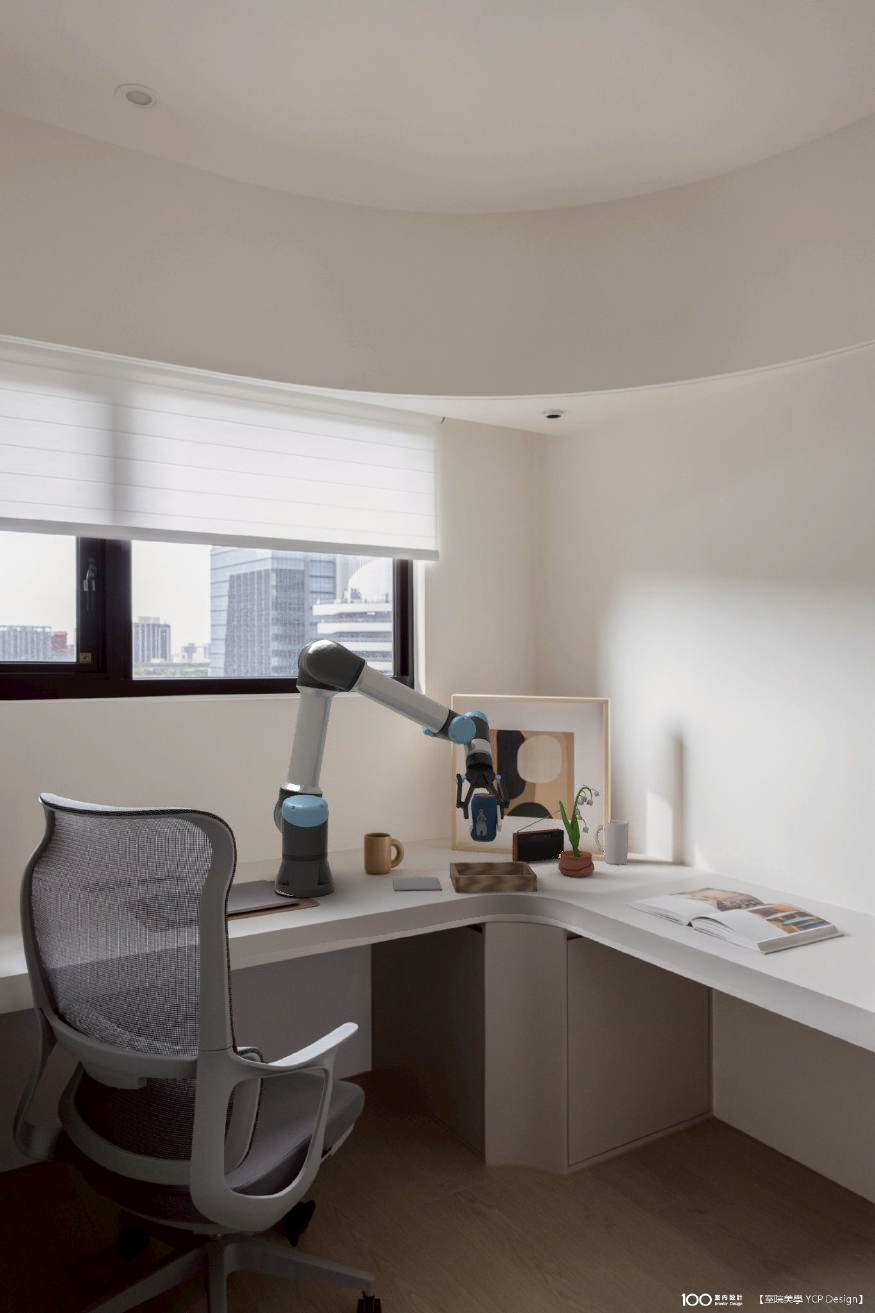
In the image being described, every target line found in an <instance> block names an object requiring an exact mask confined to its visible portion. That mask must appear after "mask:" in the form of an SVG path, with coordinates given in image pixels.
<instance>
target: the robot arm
mask: <svg viewBox="0 0 875 1313" xmlns="http://www.w3.org/2000/svg"><path fill="white" fill-rule="evenodd" d="M296 663H297V669H298V672H297V680H296V686H295V687H296V688H297V690H298V692H299V693H300V696H299V703H298V708H297V715H296V723H295V727H294V734H293V739H292V740H293V741H292V746H291V754H290V758H289V765H288V772H287V779H286V780H285V781H284V783H282V784H280V786H279V793H278V798H277V802H276V803H275V806H274V808H273V821H274V824H275V826H276V828H277V830H278V831H279V832H280V833H281V862H280V866H279V869H278V870H277V874H276V876H275V877H276V878H275V880H274V889H275V888H276V889H277V890H279V891H281V892H284V893H286V894H289V895H293V896H296V897H295V898H313V897H320V896H325V895H328V894H330V893H332V892H334V890H335V879H334V875H333V872H332V868H331V865H330V863H329V859H328V858H329V856H328V854H329V853H328V852H329V851H328V849H329V848H328V847H329V814H330V811H329V805H328V802H327V800H326V799H324V798H323V795H324V791H323V790H322V788H321V786H320V784H319V782H320V777H321V770H322V765H323V757H324V751H325V744H326V741H327V740H326V739H327V732H328V726H329V719H330V713H331V708H332V707H331V706H332V701H333V698H334V697H335V696H337V695H338V694H339V693H340V689H341V690H343V691H345V692H346V693H353V692H355V693H357V694H359V695H361V696H363V697H365V698H367V699H369V700H371V701H373V702H375V703H377V704H379V705H381V706H383V707H384V708H387V709H388V710H390V711H392V712H394V713H396V714H398V715H400V716H402V717H404V718H405V719H408V720H410V721H412V722H413V723H415V724H418V725H420V726H421V728H422V729H421V730H422V733H423V734H424V735H425V736H429V737H431V738H437V739H441V740H445V741H449V742H452V743H454V744H456V745H463V747H464V760H465V773H464V774H461V773H460V772H459V773H458V772H457V774H456V775H455V782H456V787H457V789H456V802H455V803H456V804H455V808H457V809H462V813H463V819H464V820H467V825H468V832H469V833H470V832H472V827H473V823H472V811H471V800H472V798H473V795H474V792H475V790H476V789H485V790H486V791H487V793H488V794H494V795H495V798H496V800H497V832H501V831H502V827H503V826H502V821H503V820H504V818H505V810H506V809H507V810H508V809H509V808H510V802H511V801H510V798H509V793H508V790H507V785H506V781H505V780H506V774H505V773H501V774H496V772H495V770H494V763H493V755H492V744H491V736H490V724H489V721H488V717H487V715H486V714H485V713H484V712H482V711H479V710H474V711H472V710H471V711H468V712H465V714H460V713H458V712H457V711H454V710H452V709H450V708H448V706H445V705H443V704H441V703H439V702H438V701H436V700H434V699H431V698H430V697H428V696H426V695H424V694H423V693H420V692H418V691H417V690H415V689H413V688H411V687H409V686H408V685H405V684H404V683H401V682H400V681H398V680H396V679H394V678H392V677H390V676H389V675H386V674H385V673H383V672H380V671H379V670H377V669H375V668H374V667H371V666H370V665H368V662H367V659H365V658H363V657H361V656H359V655H358V654H356V653H355V652H353V651H351V650H350V649H348V648H347V647H345V646H344V645H343V644H341V643H340V642H338V641H335V640H332V639H318V640H317V639H316V640H313V641H311V642H309V643H307V644H306V645H305V646H304V647H302V649H301V651H300V652H299V654H298V657H297V662H296ZM465 781H467V782H468V783H469V787H468V789H467V793H466V796H465V797H464V801H463V800H462V798H463V783H465ZM495 781H496V783H497V784H498V785H499V786H498V787H499V790H500V794H499V792H498V790H497V789H496V787H495V785H494V782H495ZM500 795H501V796H500Z"/></svg>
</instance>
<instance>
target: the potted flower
mask: <svg viewBox="0 0 875 1313" xmlns="http://www.w3.org/2000/svg"><path fill="white" fill-rule="evenodd" d="M584 790H587V791H588V792H590V793H589V794H590V799H588V798H587V795H586V792H585V791H584ZM592 790H593V791H594V792H593V793H592ZM582 793H584V795H581V794H582ZM593 795H594V797H595V798H596V797H599V796H600V792H599V791H598V790H596V789H594V788H590V787H589V786H587V785H585V784H582V787H581V788H580V789H579V790H578V792H577V795H576V797H575V800H574V803H573V809H572V815H571V818H570V819H571V820H570V821H569V820H568V817H567V812H566V809H564V808H565V806H564V804H563V802H562V801H561V799H559V800H558V801H559V802H558V805H559V810H560V814H561V819H562V822H563V825H564V827H565V830H566V831H565V832H566V834H567V837H568V841H569V842H570V845H571V847H572V849H571V850H564V851H563V852H561V853H560V854H561V859H560V860H559V862H558V865H557V869H558V870H559V872H560V873H561V874H563V875H565V876H568V877H574V878H582V877H587V876H590V875H592V874H593V872H594V871H595V864H594V862H593V860H592V856H593V854H592V853H591V852H589V851H586V850H580V849H579V845H580V839H581V831H580V826H579V821H583V823H584V824H585V826H583V827H582V833H585V834H586V833H587V834H588V833H589V827H587V824H586V821H585V819H583V816H582V815H581V810H580V809H579V808H578V807H579V806H585V804H584V803H586V805H588V806H589V807H593V804H594V800H592V799H593Z"/></svg>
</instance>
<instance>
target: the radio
mask: <svg viewBox="0 0 875 1313" xmlns="http://www.w3.org/2000/svg"><path fill="white" fill-rule="evenodd" d="M558 812H561V810H560V809H559V810H558V811H555V812H554V813H552V814H549V815H547V816H545V817H543V818H541V819H538V820H537V821H534V822H533V823H531V824H528V825H527V826H524V827H522V828H521V829H518V830H517V831H516V832H513V833H512V845H511V846H512V850H511V851H512V853H511V855H512V857H511V858H512V861H511V862H526V863H533V862H540V861H541V862H543V861H550V860H559V859H558V857H559V854H560V853H561V852H562V851H565V829H562V828H561V829H560V828H548V829H539V830H529V831H528V830H527V831H523V830H524V829H526V828H529V827H531V826H532V825H534V824H537V823H538V822H540V821H542V820H545V819H546V818H548V817H550V816H552V815H555V814H557V813H558Z"/></svg>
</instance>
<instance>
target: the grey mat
mask: <svg viewBox="0 0 875 1313" xmlns="http://www.w3.org/2000/svg"><path fill="white" fill-rule="evenodd" d="M392 882H393V889H394V892H404V891H403V890H439V891H442V886H441V883H440V880H439V878H438V877H437V876H434V877H433V876H430V877H429V876H427V877H425V876H424V877H418V876H415V877H412V876H411V877H392Z"/></svg>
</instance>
